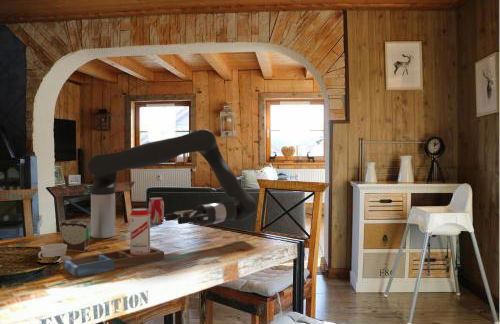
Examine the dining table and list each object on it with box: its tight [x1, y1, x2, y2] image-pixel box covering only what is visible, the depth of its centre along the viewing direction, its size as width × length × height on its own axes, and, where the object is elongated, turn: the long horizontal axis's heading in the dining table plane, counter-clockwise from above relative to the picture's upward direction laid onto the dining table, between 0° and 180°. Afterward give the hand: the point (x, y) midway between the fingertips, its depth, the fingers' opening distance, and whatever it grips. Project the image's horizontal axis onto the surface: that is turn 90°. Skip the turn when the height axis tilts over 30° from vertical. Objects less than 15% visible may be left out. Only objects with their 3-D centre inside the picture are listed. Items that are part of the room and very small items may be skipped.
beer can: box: [129, 207, 151, 256], centre depth 127 cm, size 6×6×16 cm
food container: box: [59, 218, 93, 253], centre depth 140 cm, size 12×6×10 cm, turn 71°
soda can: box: [148, 196, 165, 225], centre depth 189 cm, size 7×7×12 cm
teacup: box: [37, 243, 73, 264], centre depth 125 cm, size 10×10×5 cm
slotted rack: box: [62, 245, 165, 278], centre depth 121 cm, size 11×27×3 cm, turn 131°
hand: (171, 219), depth 134 cm, fingers open, 8 cm apart
